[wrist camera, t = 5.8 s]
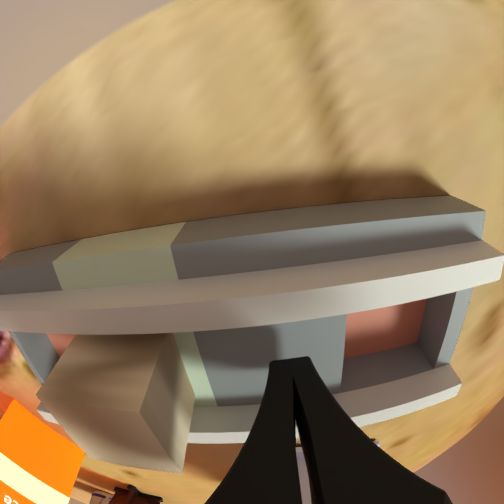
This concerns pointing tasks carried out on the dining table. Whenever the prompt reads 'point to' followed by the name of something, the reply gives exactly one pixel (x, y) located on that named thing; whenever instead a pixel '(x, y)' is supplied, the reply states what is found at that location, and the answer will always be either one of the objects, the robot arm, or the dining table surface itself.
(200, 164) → the dining table surface
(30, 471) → the orange juice
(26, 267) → the track
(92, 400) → the block
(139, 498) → the mate gourd
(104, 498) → the energy drink
